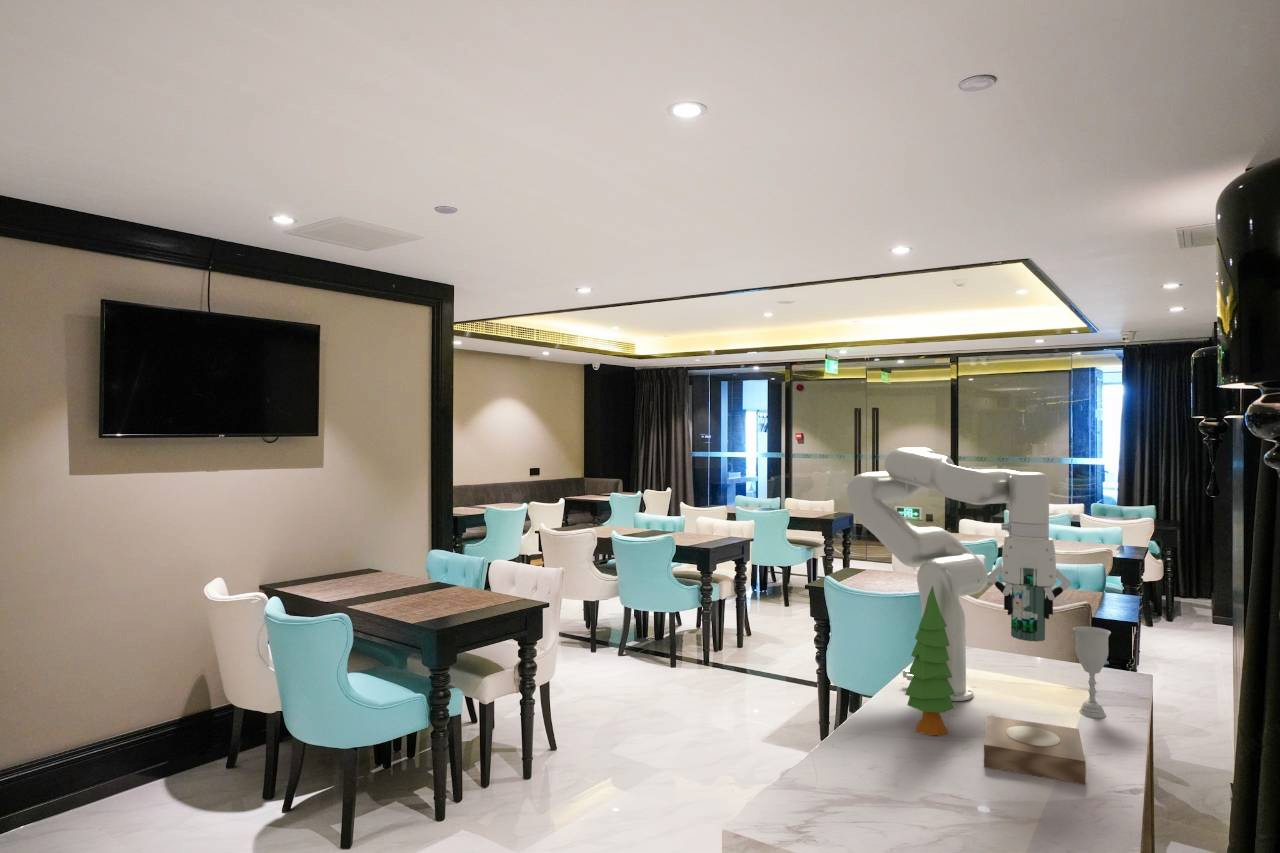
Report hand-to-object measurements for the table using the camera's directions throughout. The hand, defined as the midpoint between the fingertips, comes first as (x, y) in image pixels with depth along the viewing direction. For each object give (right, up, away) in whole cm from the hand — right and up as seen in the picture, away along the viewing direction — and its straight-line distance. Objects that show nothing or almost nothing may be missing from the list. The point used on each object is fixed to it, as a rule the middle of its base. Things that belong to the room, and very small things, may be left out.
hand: (1028, 614), depth 159 cm
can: (0, -5, 0) cm, 5 cm away
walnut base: (-8, -22, -18) cm, 30 cm away
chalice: (+16, -23, +5) cm, 28 cm away
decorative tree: (-22, -23, -4) cm, 32 cm away
